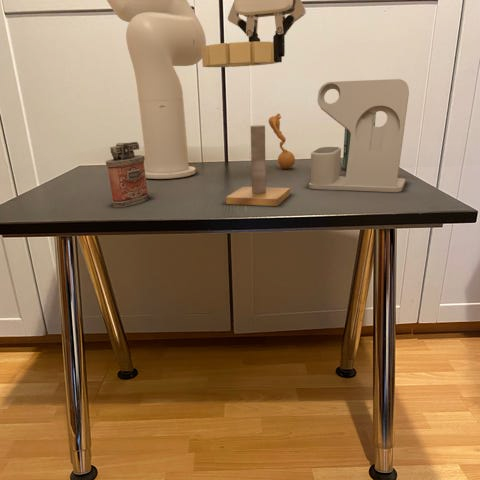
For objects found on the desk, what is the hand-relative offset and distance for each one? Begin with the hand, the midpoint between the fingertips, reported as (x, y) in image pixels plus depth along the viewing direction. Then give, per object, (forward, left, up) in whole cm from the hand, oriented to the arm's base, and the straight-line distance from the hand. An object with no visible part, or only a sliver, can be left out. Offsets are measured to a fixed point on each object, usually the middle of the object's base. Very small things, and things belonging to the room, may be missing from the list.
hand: (267, 61), depth 84 cm
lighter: (-21, -16, -22) cm, 34 cm away
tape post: (+1, -10, -22) cm, 24 cm away
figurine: (-3, +22, -22) cm, 31 cm away
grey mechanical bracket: (+16, +5, -22) cm, 28 cm away
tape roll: (-5, 0, 0) cm, 5 cm away
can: (+14, +24, -22) cm, 35 cm away
